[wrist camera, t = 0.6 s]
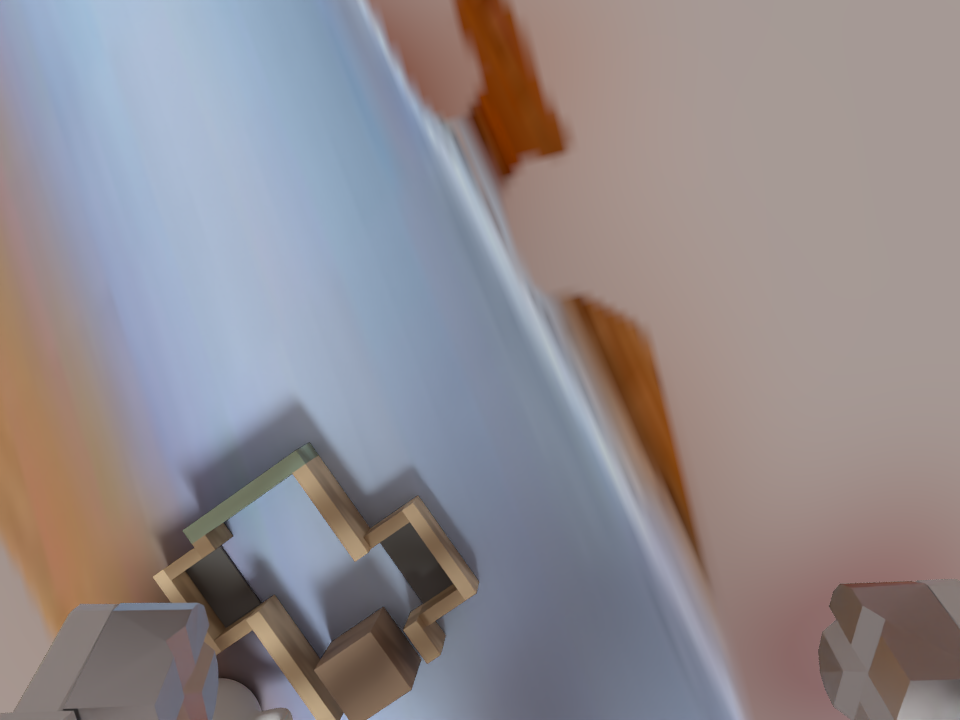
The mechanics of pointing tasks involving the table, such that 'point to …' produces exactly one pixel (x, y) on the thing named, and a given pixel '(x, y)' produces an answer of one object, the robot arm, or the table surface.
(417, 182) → the table surface
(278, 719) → the cup
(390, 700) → the block
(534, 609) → the table surface
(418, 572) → the wooden flat frame
